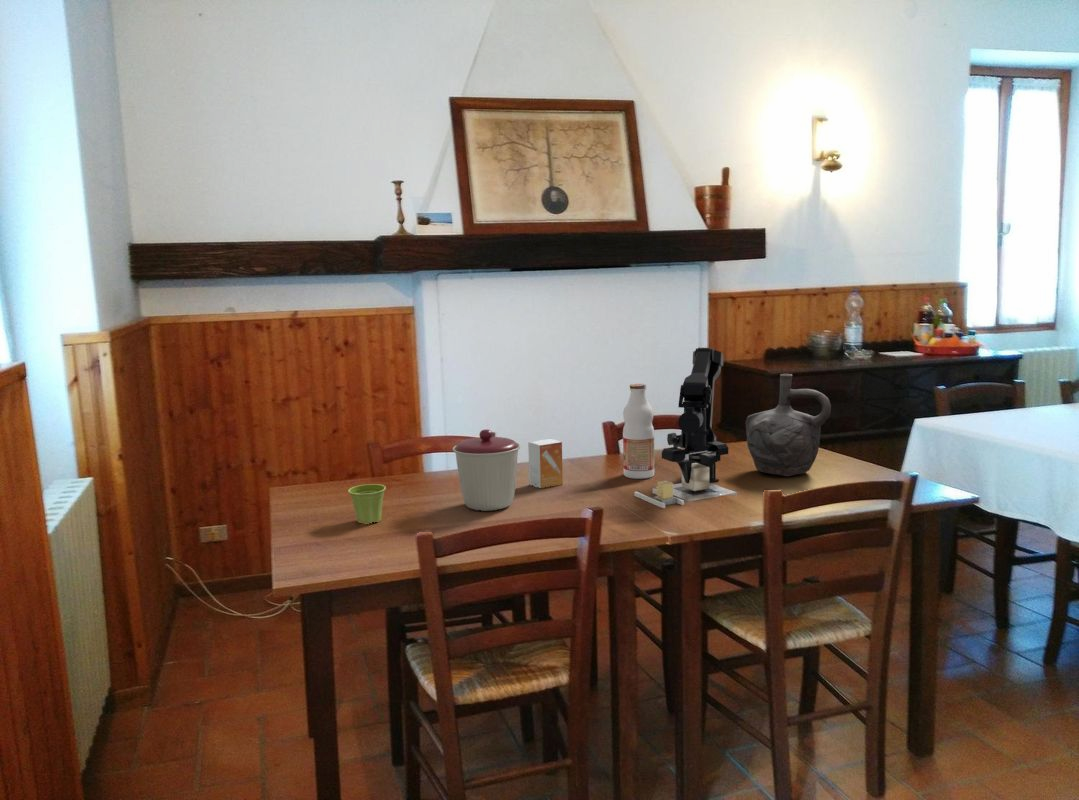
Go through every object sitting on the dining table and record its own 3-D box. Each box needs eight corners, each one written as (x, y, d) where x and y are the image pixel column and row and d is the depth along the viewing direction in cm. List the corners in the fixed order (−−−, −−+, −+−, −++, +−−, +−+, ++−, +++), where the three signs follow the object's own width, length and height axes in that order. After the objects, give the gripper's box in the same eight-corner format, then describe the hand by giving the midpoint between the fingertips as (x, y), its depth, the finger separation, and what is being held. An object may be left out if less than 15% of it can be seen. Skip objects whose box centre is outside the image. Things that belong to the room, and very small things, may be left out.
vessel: (828, 466, 255) (830, 370, 250) (829, 484, 234) (832, 379, 230) (747, 463, 262) (748, 369, 258) (742, 480, 242) (743, 378, 237)
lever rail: (654, 496, 227) (654, 488, 227) (684, 508, 215) (684, 500, 214) (634, 499, 225) (634, 491, 224) (663, 512, 212) (663, 504, 212)
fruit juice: (637, 481, 244) (636, 387, 240) (617, 475, 252) (615, 384, 248) (661, 475, 250) (660, 384, 245) (640, 470, 257) (639, 381, 253)
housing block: (696, 483, 232) (696, 462, 231) (709, 488, 226) (709, 467, 225) (681, 486, 230) (681, 465, 229) (694, 490, 224) (694, 469, 223)
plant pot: (380, 527, 207) (377, 493, 205) (344, 526, 208) (342, 493, 207) (392, 516, 216) (391, 484, 214) (358, 515, 217) (356, 483, 216)
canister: (517, 494, 233) (514, 421, 230) (527, 512, 215) (524, 433, 212) (453, 499, 230) (449, 425, 227) (458, 518, 212) (454, 438, 209)
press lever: (667, 499, 220) (667, 479, 219) (676, 503, 216) (676, 483, 215) (653, 502, 218) (653, 481, 217) (662, 505, 214) (662, 485, 213)
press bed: (701, 483, 239) (701, 479, 239) (736, 496, 224) (737, 492, 224) (654, 491, 232) (654, 487, 232) (688, 505, 218) (688, 500, 218)
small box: (540, 489, 238) (539, 445, 236) (528, 484, 244) (527, 441, 241) (563, 484, 243) (562, 441, 241) (551, 480, 248) (550, 438, 246)
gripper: (705, 418, 236) (705, 471, 239) (650, 425, 229) (650, 480, 231) (729, 424, 226) (729, 479, 229) (673, 431, 219) (673, 488, 221)
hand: (695, 481), depth 228 cm, fingers closed on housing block, 5 cm apart
